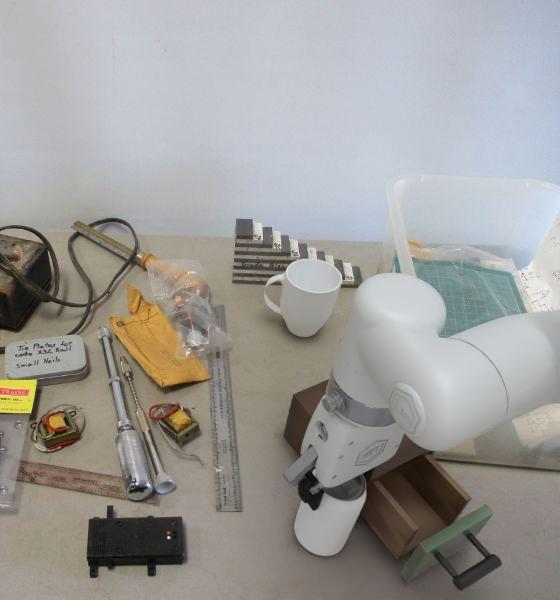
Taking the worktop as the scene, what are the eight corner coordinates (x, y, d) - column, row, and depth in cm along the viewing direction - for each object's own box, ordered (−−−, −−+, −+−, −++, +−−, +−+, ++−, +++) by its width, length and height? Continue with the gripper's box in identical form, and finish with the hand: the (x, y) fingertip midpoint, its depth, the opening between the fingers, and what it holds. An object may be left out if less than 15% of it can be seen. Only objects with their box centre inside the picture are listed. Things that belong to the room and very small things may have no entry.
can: (317, 500, 78) (338, 445, 70) (356, 539, 74) (382, 485, 66) (282, 526, 75) (300, 472, 67) (320, 568, 71) (344, 515, 63)
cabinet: (417, 485, 79) (439, 444, 73) (349, 521, 76) (366, 482, 69) (346, 406, 89) (360, 364, 83) (282, 435, 85) (292, 394, 79)
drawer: (498, 574, 70) (526, 544, 64) (433, 616, 66) (457, 588, 61) (392, 458, 81) (408, 424, 76) (332, 489, 78) (345, 456, 73)
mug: (329, 315, 104) (343, 261, 96) (326, 350, 97) (341, 297, 89) (263, 303, 106) (271, 250, 98) (256, 337, 100) (264, 284, 92)
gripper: (320, 454, 51) (290, 547, 63) (465, 384, 57) (412, 483, 69) (271, 393, 56) (252, 490, 68) (408, 335, 62) (368, 434, 74)
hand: (332, 486), depth 68 cm, fingers closed on can, 6 cm apart
